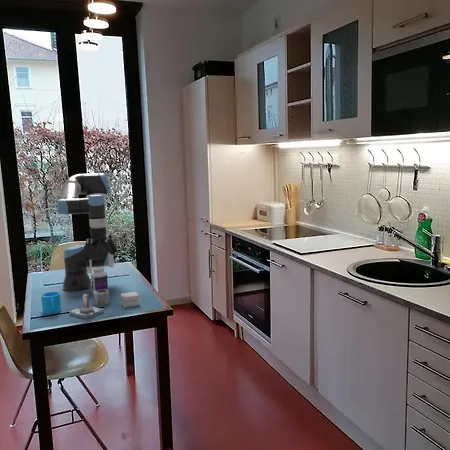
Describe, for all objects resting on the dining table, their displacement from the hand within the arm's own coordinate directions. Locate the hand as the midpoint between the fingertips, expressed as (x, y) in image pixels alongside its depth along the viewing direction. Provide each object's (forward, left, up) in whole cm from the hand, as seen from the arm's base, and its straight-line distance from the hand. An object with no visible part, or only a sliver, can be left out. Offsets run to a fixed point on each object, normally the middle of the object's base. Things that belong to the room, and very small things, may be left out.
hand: (100, 270), depth 221 cm
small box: (+13, +6, -17) cm, 22 cm away
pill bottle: (-12, +9, -17) cm, 23 cm away
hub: (0, 0, -17) cm, 17 cm away
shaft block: (+6, -14, -17) cm, 23 cm away
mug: (-10, -21, -17) cm, 29 cm away
